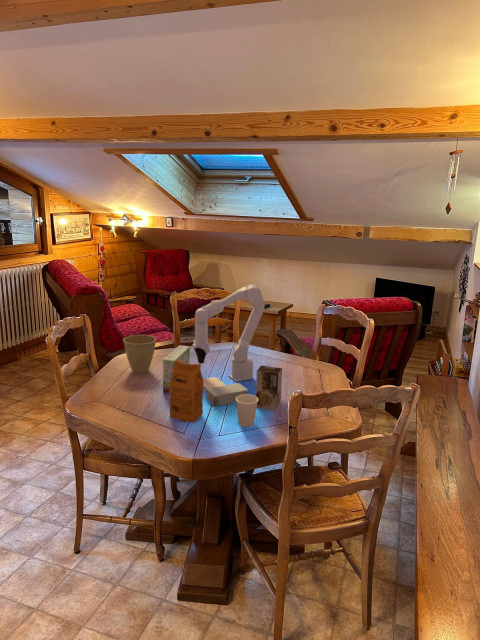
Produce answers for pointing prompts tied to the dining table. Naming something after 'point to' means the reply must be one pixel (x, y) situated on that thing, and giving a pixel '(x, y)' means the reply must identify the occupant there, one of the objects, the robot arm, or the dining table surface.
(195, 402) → the coffee package
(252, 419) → the dixie cup
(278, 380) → the coffee box
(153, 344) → the plant pot
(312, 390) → the dining table surface
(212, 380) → the tile
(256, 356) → the dining table surface
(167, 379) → the snack box
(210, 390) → the beige slab
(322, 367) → the dining table surface
